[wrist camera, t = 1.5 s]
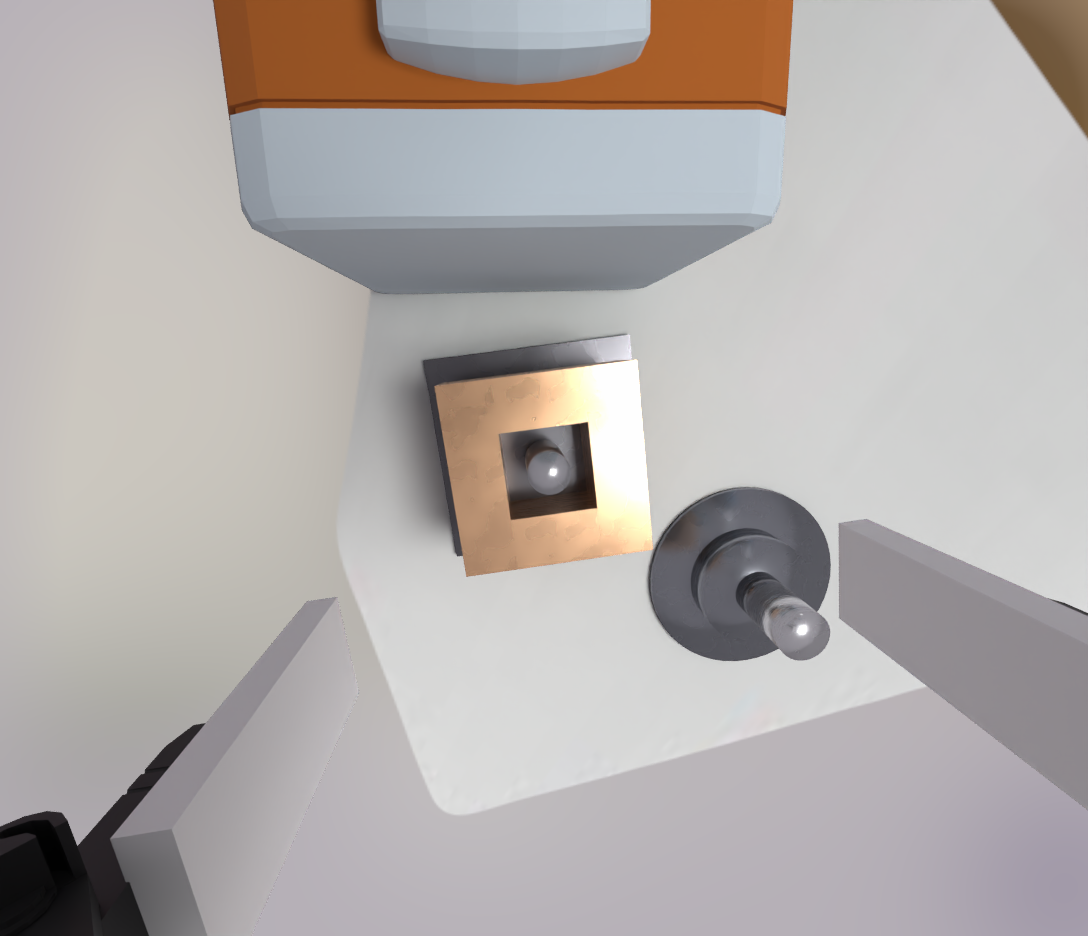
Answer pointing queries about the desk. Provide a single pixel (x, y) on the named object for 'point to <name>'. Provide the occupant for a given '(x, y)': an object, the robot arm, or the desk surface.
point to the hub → (743, 577)
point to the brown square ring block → (560, 520)
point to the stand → (536, 454)
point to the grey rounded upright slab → (506, 135)
